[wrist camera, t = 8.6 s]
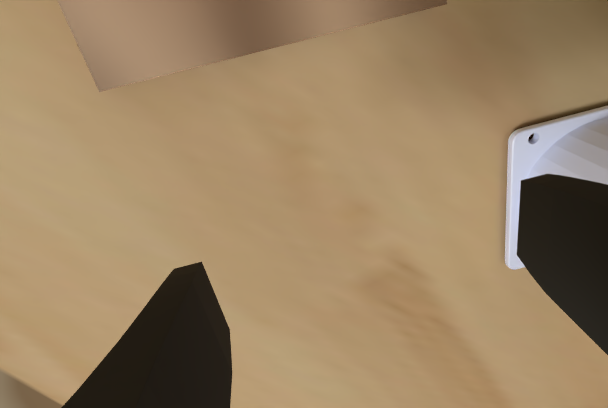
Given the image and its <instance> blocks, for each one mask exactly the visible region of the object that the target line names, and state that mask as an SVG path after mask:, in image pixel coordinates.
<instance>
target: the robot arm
mask: <svg viewBox="0 0 608 408" xmlns="http://www.w3.org/2000/svg"><path fill="white" fill-rule="evenodd" d="M533 133H534V136H533V138H532V139H531V140H530V141H528V139H529V137H530V135H531V134H533ZM505 264H506V265H507V266H508V267H509V268H510V269H513V270H515V269H519V268H523V267H526V268H527V270H528V271H529V273H530V274H531V275H532V277H533V278H534V279H535V280H536V282H537V283H538V284H539V285H540V287H541V288H542V289H543V290H544V292H545V293H546V294H547V295H548V296H549V297H550V298H551V299H552V300H553V301H554V302H555V303H556V304H557V305H558V306H559V307H560V308H561V309H562V310H563V311H564V312H565V313H566V314H567V315H568V316H569V317H570V318H571V319H572V320H573V321H574V322H575V323H576V324H577V325H578V326H579V327H580V328H581V329H582V330H583V331H584V332H585V333H586V334H587V335H588V336H589V337H590V338H591V339H592V340H593V341H594V342H595V343H596V344H597V345H598V346H599V347H600V348H601V349H602V350H603V351H604V352H605V353H606V354H607V355H608V106H604V107H600V108H596V109H592V110H589V111H585V112H581V113H577V114H573V115H569V116H566V117H562V118H558V119H554V120H550V121H547V122H543V123H539V124H535V125H531V126H527V127H524V128H520V129H517V130H515V131H514V132H513V133H512V134H511V135H510V137H509V141H508V169H507V204H506V238H505ZM231 383H232V360H231V343H230V329H229V327H228V325H227V322H226V320H225V317H224V315H223V312H222V310H221V308H220V305H219V303H218V300H217V298H216V295H215V293H214V291H213V288H212V286H211V283H210V281H209V278H208V276H207V274H206V271H205V269H204V266H203V264H202V262H199V263H195V264H191V265H187V266H184V267H180V268H176V269H174V270H173V271H172V272H171V273H170V274H169V276H168V277H167V278H166V280H165V281H164V282H163V283H162V285H161V286H160V287H159V289H158V290H157V291H156V293H155V294H154V295H153V297H152V298H151V299H150V301H149V302H148V303H147V305H146V306H145V307H144V309H143V310H142V311H141V313H140V314H139V315H138V317H137V318H136V319H135V320H134V322H133V323H132V324H131V326H130V327H129V328H128V330H127V331H126V332H125V333H124V335H123V336H122V337H121V339H120V340H119V341H118V342H117V344H116V345H115V346H114V347H113V348H112V350H111V351H110V352H109V353H108V354H107V356H106V357H105V358H104V359H103V360H102V362H101V363H100V364H99V365H98V366H97V368H96V369H95V370H94V371H93V372H92V374H91V375H90V376H89V377H88V378H87V379H86V381H85V382H84V383H83V384H82V385H81V387H80V388H79V389H78V390H77V391H76V392H75V393H74V395H73V396H72V397H71V398H70V399H69V400H68V401H67V402H66V403H65V405H64V406H63V407H62V408H230V399H231Z"/></svg>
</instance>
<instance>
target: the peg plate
mask: <svg viewBox="0 0 608 408" xmlns="http://www.w3.org/2000/svg"><path fill="white" fill-rule="evenodd" d="M57 1H58V3H59V6H60V8H61V10H62V12H63V14H64V16H65V19H66V21H67V23H68V25H69V27H70V29H71V32H72V34H73V36H74V38H75V40H76V42H77V45H78V47H79V49H80V51H81V53H82V55H83V58H84V60H85V62H86V64H87V66H88V68H89V71H90V73H91V75H92V77H93V79H94V81H95V84H96V86H97V88H98V90H99V92H102V91H105V90H109V89H113V88H117V87H121V86H125V85H129V84H133V83H137V82H141V81H145V80H149V79H153V78H157V77H161V76H165V75H169V74H172V73H176V72H180V71H184V70H188V69H192V68H196V67H200V66H204V65H208V64H212V63H216V62H220V61H224V60H228V59H232V58H236V57H240V56H243V55H247V54H251V53H255V52H259V51H263V50H267V49H271V48H275V47H279V46H283V45H287V44H291V43H295V42H299V41H303V40H307V39H310V38H314V37H318V36H322V35H326V34H330V33H334V32H338V31H342V30H346V29H350V28H354V27H358V26H362V25H366V24H370V23H374V22H378V21H381V20H385V19H389V18H393V17H397V16H401V15H405V14H409V13H413V12H417V11H421V10H425V9H429V8H433V7H437V6H441V5H445V4H447V0H57Z"/></svg>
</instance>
